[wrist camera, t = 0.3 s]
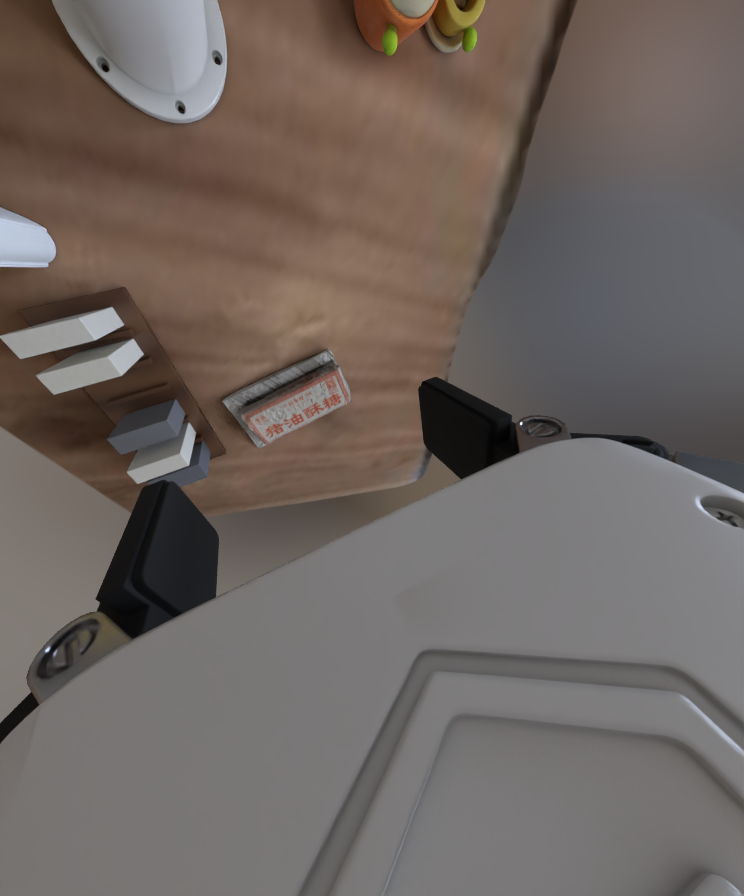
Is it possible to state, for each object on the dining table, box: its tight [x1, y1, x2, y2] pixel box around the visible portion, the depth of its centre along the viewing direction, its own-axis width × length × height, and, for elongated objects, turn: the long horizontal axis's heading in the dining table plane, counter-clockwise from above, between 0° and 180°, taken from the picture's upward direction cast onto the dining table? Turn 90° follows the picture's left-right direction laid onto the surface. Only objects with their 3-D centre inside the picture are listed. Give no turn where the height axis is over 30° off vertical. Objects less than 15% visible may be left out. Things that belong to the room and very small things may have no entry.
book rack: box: [18, 287, 226, 459], centre depth 37 cm, size 24×10×2 cm, turn 11°
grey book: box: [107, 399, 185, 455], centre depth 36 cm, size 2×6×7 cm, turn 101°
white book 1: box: [0, 307, 124, 359], centre depth 28 cm, size 2×6×9 cm, turn 101°
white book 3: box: [127, 422, 196, 484], centre depth 37 cm, size 2×6×9 cm, turn 101°
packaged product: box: [222, 349, 352, 449], centre depth 44 cm, size 18×5×10 cm
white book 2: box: [36, 338, 144, 395], centre depth 30 cm, size 2×6×9 cm, turn 101°
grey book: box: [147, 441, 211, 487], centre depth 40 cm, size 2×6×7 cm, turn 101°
